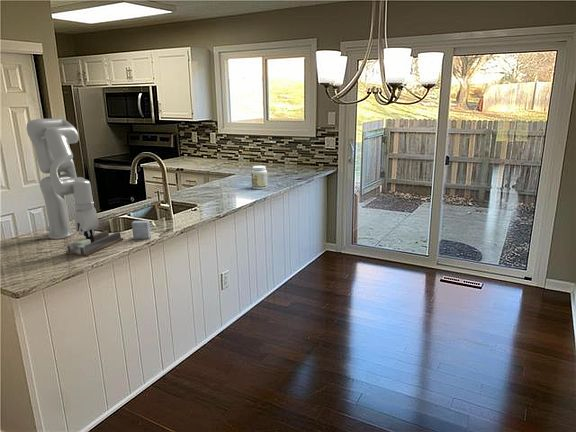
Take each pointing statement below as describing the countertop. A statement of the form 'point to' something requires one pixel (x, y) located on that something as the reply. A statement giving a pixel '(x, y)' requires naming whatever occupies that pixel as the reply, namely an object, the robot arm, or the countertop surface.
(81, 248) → the chute
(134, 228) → the medicine box
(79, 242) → the block
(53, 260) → the countertop surface
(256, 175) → the supplement tub
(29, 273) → the countertop surface
